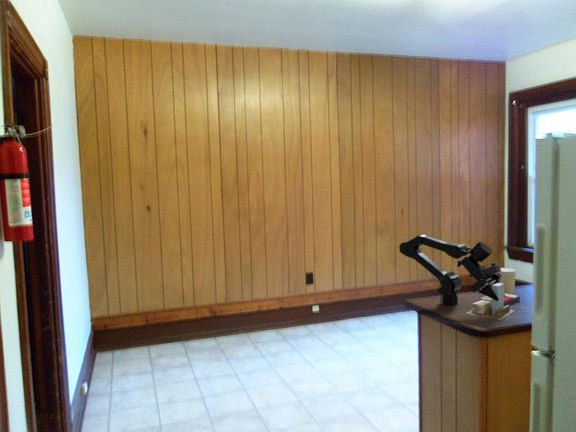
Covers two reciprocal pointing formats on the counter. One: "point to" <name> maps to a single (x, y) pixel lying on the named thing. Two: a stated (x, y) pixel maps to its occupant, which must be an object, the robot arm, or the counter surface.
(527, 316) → the counter surface
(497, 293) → the light blue brick
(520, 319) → the counter surface
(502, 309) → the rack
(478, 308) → the offcut stack
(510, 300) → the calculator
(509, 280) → the coffee cup
